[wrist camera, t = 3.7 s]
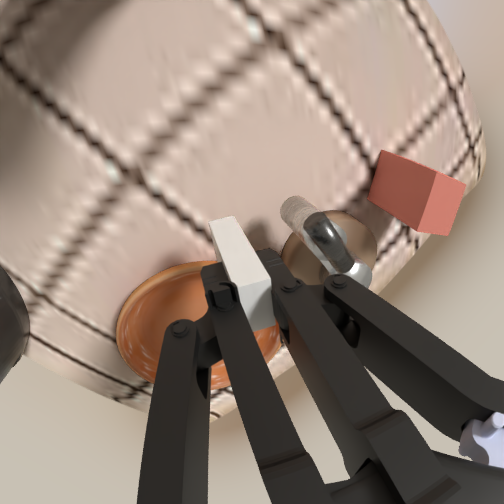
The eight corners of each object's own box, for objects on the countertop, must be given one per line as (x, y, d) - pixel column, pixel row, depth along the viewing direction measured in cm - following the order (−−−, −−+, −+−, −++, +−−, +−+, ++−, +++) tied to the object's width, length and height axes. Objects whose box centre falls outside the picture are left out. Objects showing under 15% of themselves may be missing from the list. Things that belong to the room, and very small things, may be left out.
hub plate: (270, 293, 28) (280, 311, 26) (294, 205, 24) (308, 217, 22) (345, 290, 31) (358, 305, 29) (373, 215, 27) (390, 226, 25)
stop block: (366, 199, 26) (416, 231, 21) (381, 149, 24) (436, 171, 18) (400, 205, 28) (448, 235, 22) (414, 161, 26) (466, 184, 20)
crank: (363, 267, 26) (404, 307, 21) (331, 295, 27) (366, 340, 22) (298, 170, 20) (348, 202, 15) (255, 208, 20) (291, 252, 15)
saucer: (88, 330, 25) (84, 353, 22) (196, 210, 23) (201, 226, 20) (204, 387, 33) (209, 406, 31) (306, 305, 31) (318, 324, 29)
